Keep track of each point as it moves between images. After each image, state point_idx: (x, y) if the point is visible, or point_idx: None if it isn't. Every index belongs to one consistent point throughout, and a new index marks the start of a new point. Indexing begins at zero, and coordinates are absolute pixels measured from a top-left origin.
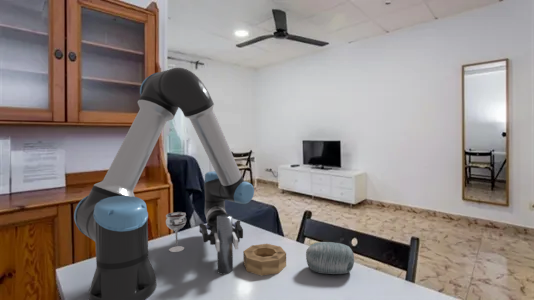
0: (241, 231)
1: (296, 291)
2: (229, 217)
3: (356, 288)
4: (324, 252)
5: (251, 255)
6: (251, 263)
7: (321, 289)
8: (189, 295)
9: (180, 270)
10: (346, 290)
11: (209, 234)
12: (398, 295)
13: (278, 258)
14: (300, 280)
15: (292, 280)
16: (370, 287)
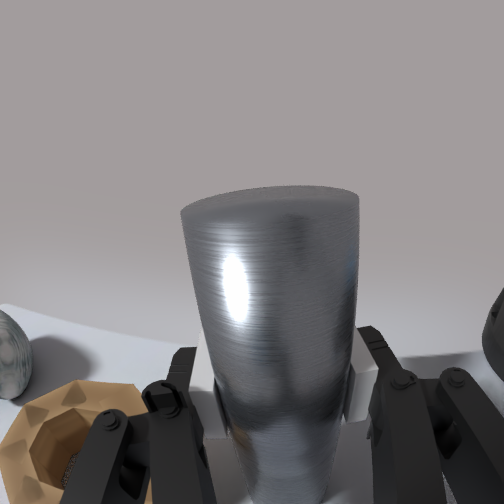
0: (117, 415)
1: (119, 344)
2: (224, 195)
3: (36, 327)
4: (3, 314)
5: None
6: None
7: (76, 338)
8: None
9: None
10: (50, 327)
11: (426, 402)
12: (22, 308)
13: (71, 384)
14: (79, 370)
15: (93, 376)
16: (22, 324)
